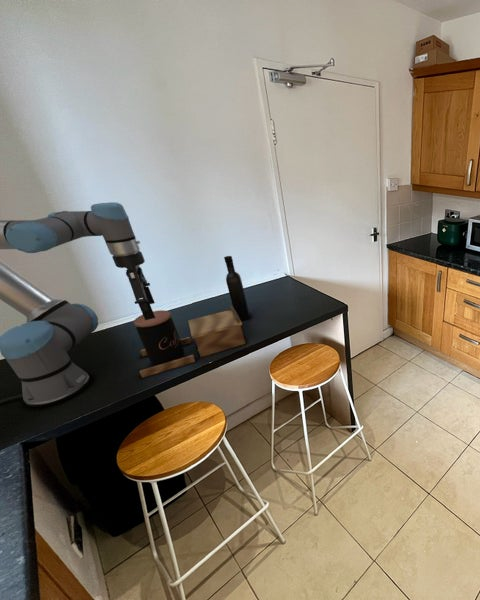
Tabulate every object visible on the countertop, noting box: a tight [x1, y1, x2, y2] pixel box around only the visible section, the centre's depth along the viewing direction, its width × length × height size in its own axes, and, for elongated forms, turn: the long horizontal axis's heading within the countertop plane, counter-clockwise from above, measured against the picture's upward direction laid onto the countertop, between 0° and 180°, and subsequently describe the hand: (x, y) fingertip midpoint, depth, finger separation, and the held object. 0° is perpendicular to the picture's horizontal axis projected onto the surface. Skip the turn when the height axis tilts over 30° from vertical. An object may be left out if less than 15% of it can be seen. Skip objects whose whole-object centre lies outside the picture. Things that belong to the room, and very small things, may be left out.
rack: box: [139, 304, 246, 379], centre depth 121 cm, size 34×16×12 cm, turn 126°
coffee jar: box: [133, 309, 185, 366], centre depth 115 cm, size 11×11×18 cm
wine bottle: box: [223, 255, 251, 321], centre depth 140 cm, size 6×6×30 cm
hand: (150, 311), depth 110 cm, fingers open, 13 cm apart
